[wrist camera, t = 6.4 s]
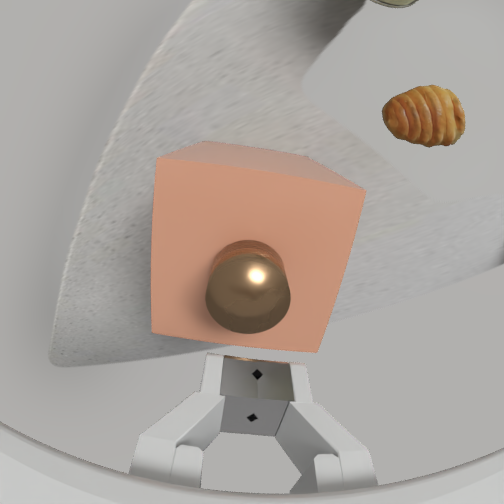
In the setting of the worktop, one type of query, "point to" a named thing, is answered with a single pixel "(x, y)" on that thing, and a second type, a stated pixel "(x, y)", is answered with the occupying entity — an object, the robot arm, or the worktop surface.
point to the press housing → (249, 237)
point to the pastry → (425, 116)
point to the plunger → (248, 288)
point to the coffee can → (395, 3)
